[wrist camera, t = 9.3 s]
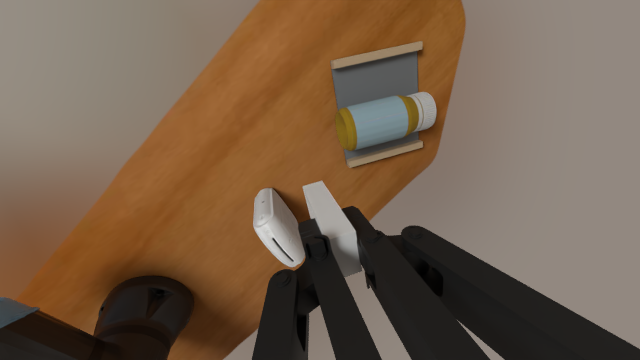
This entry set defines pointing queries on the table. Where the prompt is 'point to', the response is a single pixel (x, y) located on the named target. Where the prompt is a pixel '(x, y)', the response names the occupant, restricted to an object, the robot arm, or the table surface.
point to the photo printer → (277, 227)
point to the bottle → (384, 120)
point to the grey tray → (377, 92)
